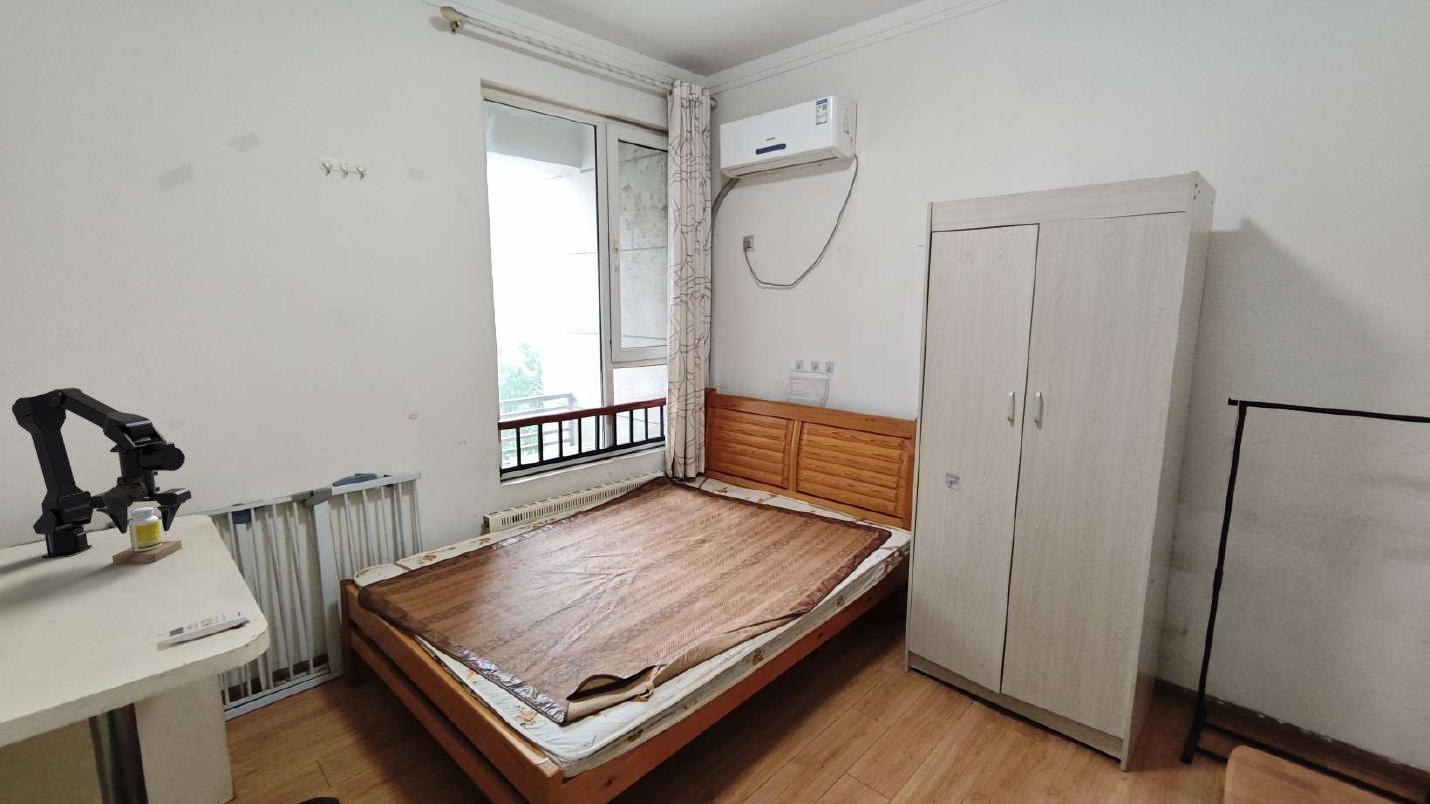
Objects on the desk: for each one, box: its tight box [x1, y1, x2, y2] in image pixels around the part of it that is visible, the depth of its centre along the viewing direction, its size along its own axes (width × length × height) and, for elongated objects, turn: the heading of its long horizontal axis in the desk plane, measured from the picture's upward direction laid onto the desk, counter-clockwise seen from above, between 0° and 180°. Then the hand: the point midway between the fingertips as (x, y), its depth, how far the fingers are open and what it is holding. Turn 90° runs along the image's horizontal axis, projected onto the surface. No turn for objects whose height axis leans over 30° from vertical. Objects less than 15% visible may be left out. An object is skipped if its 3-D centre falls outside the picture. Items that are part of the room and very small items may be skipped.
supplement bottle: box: [128, 506, 162, 551], centre depth 151 cm, size 5×5×10 cm
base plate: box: [112, 540, 182, 565], centre depth 152 cm, size 9×9×2 cm
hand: (145, 532), depth 151 cm, fingers open, 9 cm apart
